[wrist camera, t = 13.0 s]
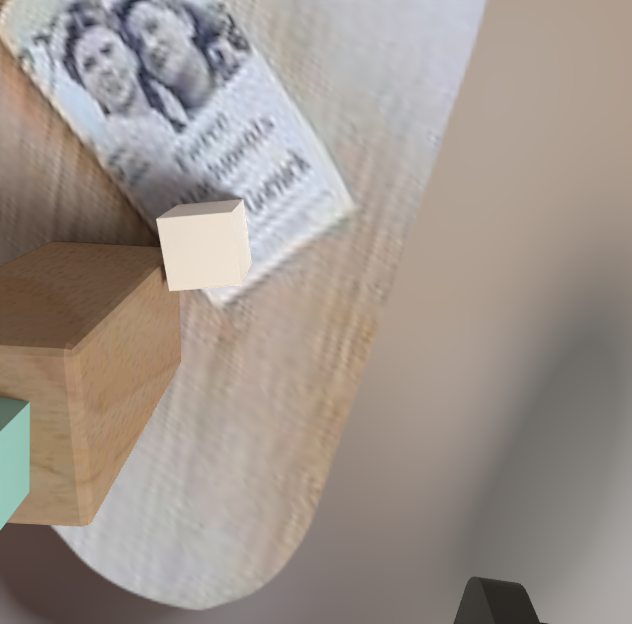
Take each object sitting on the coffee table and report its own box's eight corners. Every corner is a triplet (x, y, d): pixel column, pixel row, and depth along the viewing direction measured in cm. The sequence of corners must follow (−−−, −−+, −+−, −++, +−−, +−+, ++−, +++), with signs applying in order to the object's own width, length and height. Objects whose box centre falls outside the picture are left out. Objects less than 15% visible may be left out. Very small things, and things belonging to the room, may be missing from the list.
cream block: (177, 204, 43) (156, 218, 37) (243, 198, 43) (231, 212, 37) (188, 268, 45) (169, 291, 39) (251, 263, 45) (241, 285, 39)
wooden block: (49, 239, 44) (-153, 335, 25) (179, 246, 44) (73, 347, 25) (61, 358, 47) (-110, 521, 29) (182, 364, 48) (90, 531, 29)
